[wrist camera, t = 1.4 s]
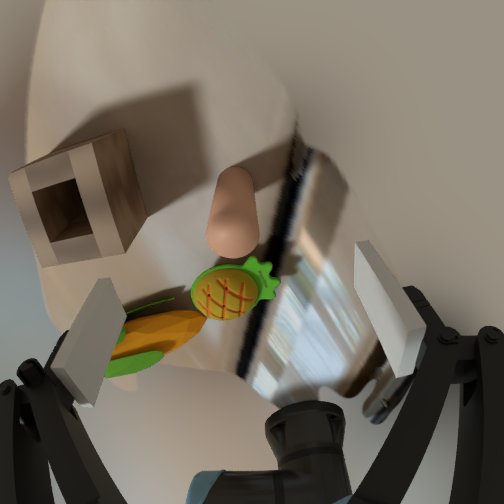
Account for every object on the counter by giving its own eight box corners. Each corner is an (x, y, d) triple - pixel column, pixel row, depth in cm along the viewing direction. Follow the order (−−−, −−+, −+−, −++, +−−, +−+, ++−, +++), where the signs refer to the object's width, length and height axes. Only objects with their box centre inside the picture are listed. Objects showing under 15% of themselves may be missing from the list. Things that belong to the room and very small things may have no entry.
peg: (255, 197, 33) (262, 254, 22) (220, 202, 33) (212, 261, 23) (249, 164, 31) (255, 206, 21) (214, 169, 31) (200, 214, 21)
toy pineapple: (182, 269, 37) (175, 297, 32) (261, 235, 35) (265, 259, 30) (211, 311, 40) (208, 341, 35) (285, 282, 38) (291, 310, 34)
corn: (61, 363, 34) (182, 317, 31) (77, 323, 41) (189, 272, 37) (98, 394, 38) (220, 359, 34) (109, 354, 44) (220, 313, 41)
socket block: (147, 217, 34) (125, 253, 27) (73, 232, 34) (42, 267, 27) (124, 128, 29) (91, 142, 22) (48, 154, 29) (7, 174, 22)
